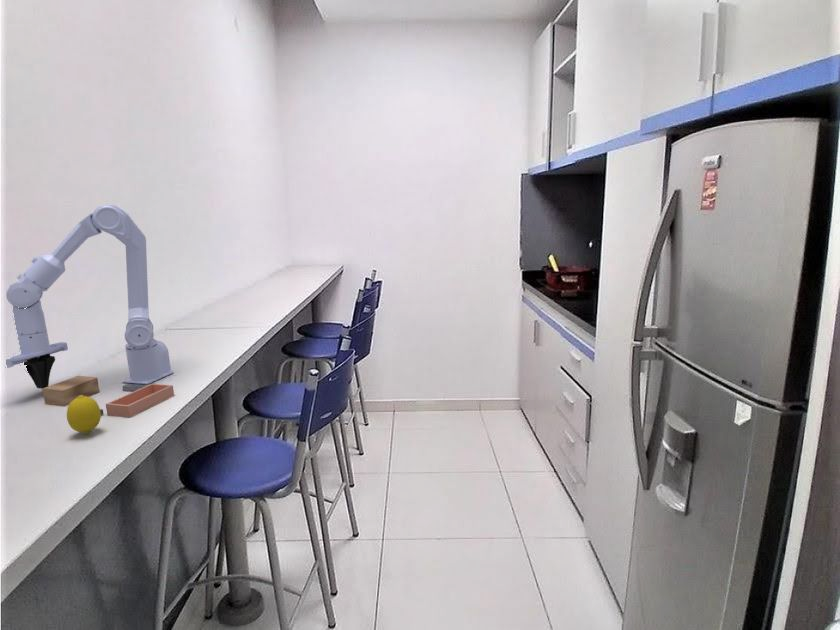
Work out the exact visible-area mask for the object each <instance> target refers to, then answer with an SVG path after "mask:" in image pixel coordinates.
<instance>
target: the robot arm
mask: <svg viewBox="0 0 840 630" xmlns="http://www.w3.org/2000/svg"><path fill="white" fill-rule="evenodd" d="M103 232H104V233H106V234H109V235H112V236H113V237H115V238H116V239H117V240H118V241H119V242H121V243H122V244H123V245H124V246H125V258H126V259H125V260H126V284H127V285H126V286H127V308H128V314H127V315H128V316H127V317H128V319H127V321H128V322H127V323H126V325H125V331H124V340H125V342H126V344H125V345H124V346H125V352H126V360H127V366H128V373H129V377H127V378H125V379H122V381H121V383H126V384H135V385H150V384H153V383H154V382H156V381H158V380H161V379H163V378H166V377H168V376H169V375H172V374H174V370H172V369H171V362H170V353H169V352H170V351H169V348H168V346H167V344H165V343H164V342H163V341H160V340H157V339H155V338H154V336H155V335H154V325H153V322H152V321H151V319H150V314H149V313H150V311H149V292H148V291H149V288H148V287H149V286H148V284H149V283H148V262H147V261H148V260H147V239H146V235H145V234H144V233H143V231H142V230H141V228H140V227H139V226H138V224H137V223H136V222H135V220H133V219H132V217H131V216H130V215H129V213H127V212H126V211H124V210H123V209H121V208H120V207H119V206H117V205H114V204H101V205H99V206H97V207H96V208H95V209H94V211H93V212H92V213H89V214H88V215H86V216H85V217H84V218H83V219H82V220H80V221H79V222H78V223H77V224H76V225H75V226H74V227H73V228H72V229H71V231H70V232H69V233H68V234H67V236H65V238H64V239H63V240H62V241H61V242H60V243H59V244H58V246H57V247H55V249H54V250H53V251H52V252H51V253H48V254H47V253H46V254H41V255H40V256H39V257H37V256H35V257H33V258H32V260H31V263H32V264H31V265H30V266H29V267H28V268H27V269H26V270H25V271H24V272H23V274H20V273H19V274H18V275H17V277H16V279H17V280H19V281H20V282H19V281H17V282H14V283H12V284H9V287H8V288H7V290H6V300H7V301H8V302H9V303H10V304H11V306H12V305H13V310H12V314H13V313H14V318H15V319H14V318H13V321H14V320H15V323H14V326H15V325H16V328H15V331H16V330H17V333H16V335H17V334H18V338H17V341H18V340H19V343H18V346H19V345H20V348H19V351H20V350H21V354H20V355H17V356H13V357H11V358H10V359H6V365H7V368H8V369H10V368H13V367H14V366H16V365H20V363H23V362H24V365H27V366H26V368H27V371H28V372H27V371H26V372H27V374H28V373H29V374H28V375H29V377H30V378H31V379H32V381H33V383H34V385H35V387H36V388H37V389H43V388H45V387H48V386H49V382H50V376H51V373H52V372H51V371H52V368H53V365H54V364H55V361H56V357H55V355H53V354H57V353H59V352H65V351H68V350H69V349H68V343H67V342H65V341H60V342H56V343H52V344H50V340H49V335H48V329H47V325H46V324H47V323H46V318H45V314H44V313H45V312H44V311H43V307H42V302H41V298H42V297H43V294H44V292H47V291H48V290H49V289H50V288H51V287H52V286H53V285H54V283H55V282H56V281H57V280H59V278H60V277H61V275H63V274H64V273H65V272H66V265H65V262H66V261H67V260H68V259H69V258H70V257H71V256H72V255H73V254H74V253H75V252H76V251H77V250H78V249H79V248H80V247H81V245H83V244H84V243H85V242H86V241H87V240H88V239H89V238H92V237H94V236H97V235H100V234H102V233H103ZM18 307H19V308H18ZM26 307H27V308H26ZM24 308H26V309H24Z"/></svg>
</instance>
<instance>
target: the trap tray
mask: <svg viewBox="0 0 840 630" xmlns="http://www.w3.org/2000/svg"><path fill="white" fill-rule="evenodd" d="M174 391H175V389H174V385H173V384H162V383H161V384H160V383H149V384H146V385H145V387H143V388H141V389H138V390H136V391H134V392H129V393H128V394H125V395H123V396H121V397H118V398H117V399H114V400H112V401H109V402H107V403H105V409H106V415H107V416H113V417H123V418H132V417H134V416H136V415H137V414H140V413H142V412H144V411H146V410H148V409H150V408H152V407H154V406H156V405H158V404H160V403H162V402H164V401H166V400H169V399H171V398H172V397H174V396H175V392H174Z"/></svg>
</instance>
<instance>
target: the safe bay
mask: <svg viewBox="0 0 840 630" xmlns="http://www.w3.org/2000/svg"><path fill="white" fill-rule="evenodd" d="M145 386H146V384H135V383H126V384H124V385H122V386H121V387H122V391H123V392H130V393H132V392H134V391H136V390H138V389H141V388H143V387H145ZM100 412H101V416H104V409H103V408H100Z"/></svg>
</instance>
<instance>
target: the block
mask: <svg viewBox="0 0 840 630" xmlns="http://www.w3.org/2000/svg"><path fill="white" fill-rule="evenodd" d="M100 391H101V390H100V385H99V380H98V377H94V376H93V377H92V376H85V375H83V376H82V375H77V376H74V377H71V378H68V379H66V380H61V381H59V382H57V383H55V384H54V383H53V384H52V385H48V387H45V388H43V389H42V395H43V400H44V405H52V406H56V407H57V406H58V407H67V406H69V404H70V403H71V402H72V401H73V400H74V399H76V398H78V396H80V395H83V396H87V397H92V396H94V395H96V394H99V393H100Z"/></svg>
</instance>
